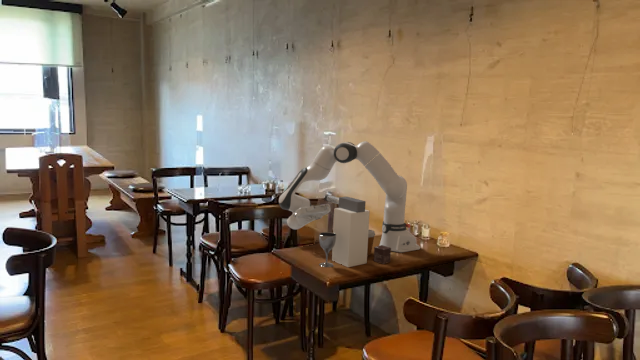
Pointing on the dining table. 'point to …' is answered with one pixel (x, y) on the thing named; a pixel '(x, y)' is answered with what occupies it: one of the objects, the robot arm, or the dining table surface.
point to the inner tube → (332, 199)
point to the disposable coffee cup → (370, 241)
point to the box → (382, 254)
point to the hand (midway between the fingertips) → (321, 205)
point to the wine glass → (327, 245)
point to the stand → (350, 232)
